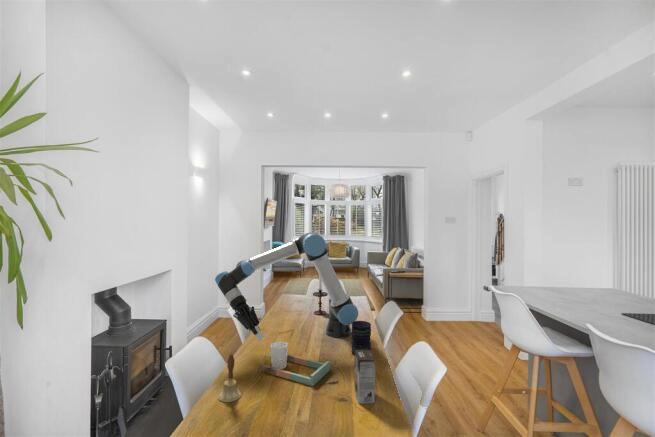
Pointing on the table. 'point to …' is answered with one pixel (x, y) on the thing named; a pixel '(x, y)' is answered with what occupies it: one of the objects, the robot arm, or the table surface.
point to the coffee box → (364, 376)
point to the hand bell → (230, 385)
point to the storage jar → (361, 336)
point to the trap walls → (287, 374)
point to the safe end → (316, 376)
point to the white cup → (279, 354)
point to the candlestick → (320, 294)
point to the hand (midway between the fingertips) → (261, 339)
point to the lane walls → (273, 370)
